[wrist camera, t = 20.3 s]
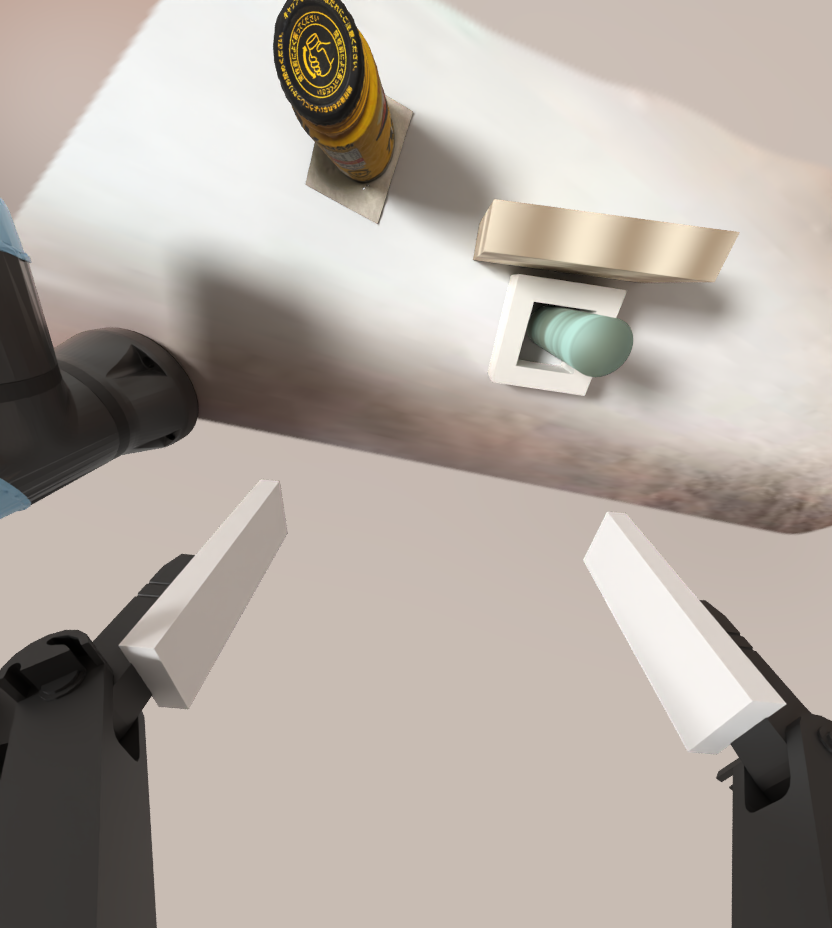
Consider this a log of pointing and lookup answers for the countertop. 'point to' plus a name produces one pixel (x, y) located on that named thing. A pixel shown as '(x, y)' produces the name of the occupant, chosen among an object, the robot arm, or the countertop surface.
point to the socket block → (515, 323)
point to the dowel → (581, 339)
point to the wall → (600, 244)
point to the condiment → (339, 103)
